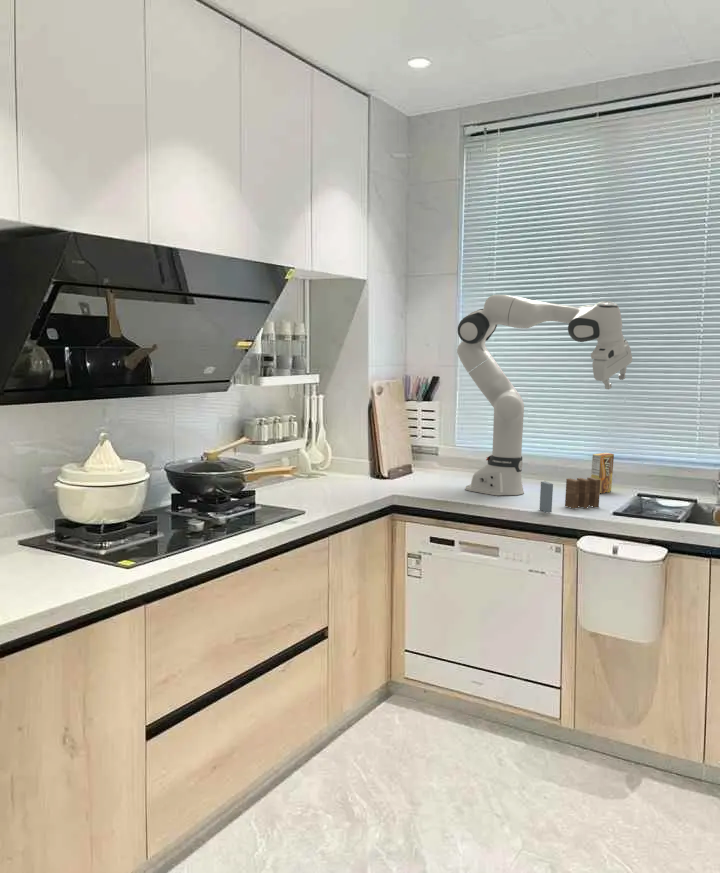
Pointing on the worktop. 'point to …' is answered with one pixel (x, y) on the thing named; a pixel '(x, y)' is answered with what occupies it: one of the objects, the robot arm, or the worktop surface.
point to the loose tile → (546, 496)
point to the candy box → (603, 470)
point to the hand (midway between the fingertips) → (615, 383)
